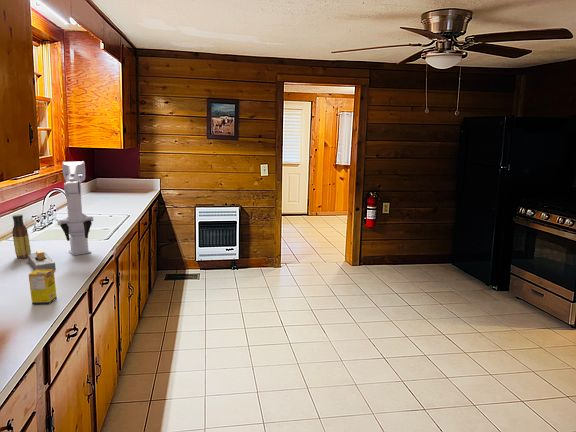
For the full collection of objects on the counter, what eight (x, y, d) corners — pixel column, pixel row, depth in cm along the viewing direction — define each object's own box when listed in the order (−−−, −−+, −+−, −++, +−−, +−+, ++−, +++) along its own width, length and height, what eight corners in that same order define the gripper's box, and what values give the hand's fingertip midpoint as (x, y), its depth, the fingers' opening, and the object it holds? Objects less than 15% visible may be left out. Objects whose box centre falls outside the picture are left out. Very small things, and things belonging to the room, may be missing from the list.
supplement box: (57, 298, 172) (54, 268, 170) (49, 304, 166) (46, 273, 164) (39, 298, 172) (36, 268, 169) (31, 304, 166) (28, 274, 164)
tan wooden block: (37, 264, 213) (35, 251, 211) (43, 263, 214) (41, 250, 213) (39, 266, 210) (37, 253, 208) (45, 265, 211) (43, 252, 210)
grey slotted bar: (27, 260, 218) (27, 254, 218) (44, 258, 223) (44, 251, 222) (37, 272, 201) (36, 265, 201) (55, 269, 205) (55, 262, 205)
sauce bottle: (27, 254, 229) (23, 213, 225) (33, 256, 225) (29, 214, 221) (13, 257, 224) (7, 215, 220) (18, 259, 220) (13, 216, 216)
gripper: (58, 212, 206) (62, 243, 209) (94, 208, 215) (96, 238, 218) (55, 209, 212) (58, 240, 215) (89, 206, 220) (92, 235, 223)
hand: (77, 239), depth 216 cm, fingers open, 7 cm apart
